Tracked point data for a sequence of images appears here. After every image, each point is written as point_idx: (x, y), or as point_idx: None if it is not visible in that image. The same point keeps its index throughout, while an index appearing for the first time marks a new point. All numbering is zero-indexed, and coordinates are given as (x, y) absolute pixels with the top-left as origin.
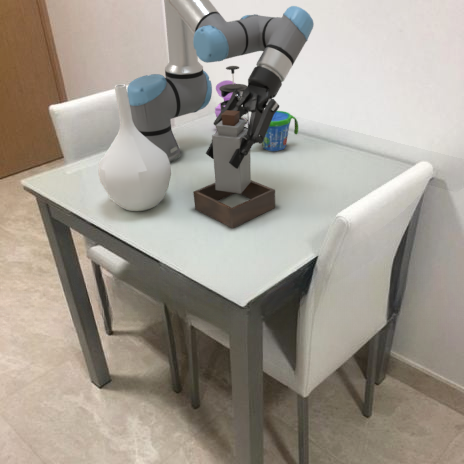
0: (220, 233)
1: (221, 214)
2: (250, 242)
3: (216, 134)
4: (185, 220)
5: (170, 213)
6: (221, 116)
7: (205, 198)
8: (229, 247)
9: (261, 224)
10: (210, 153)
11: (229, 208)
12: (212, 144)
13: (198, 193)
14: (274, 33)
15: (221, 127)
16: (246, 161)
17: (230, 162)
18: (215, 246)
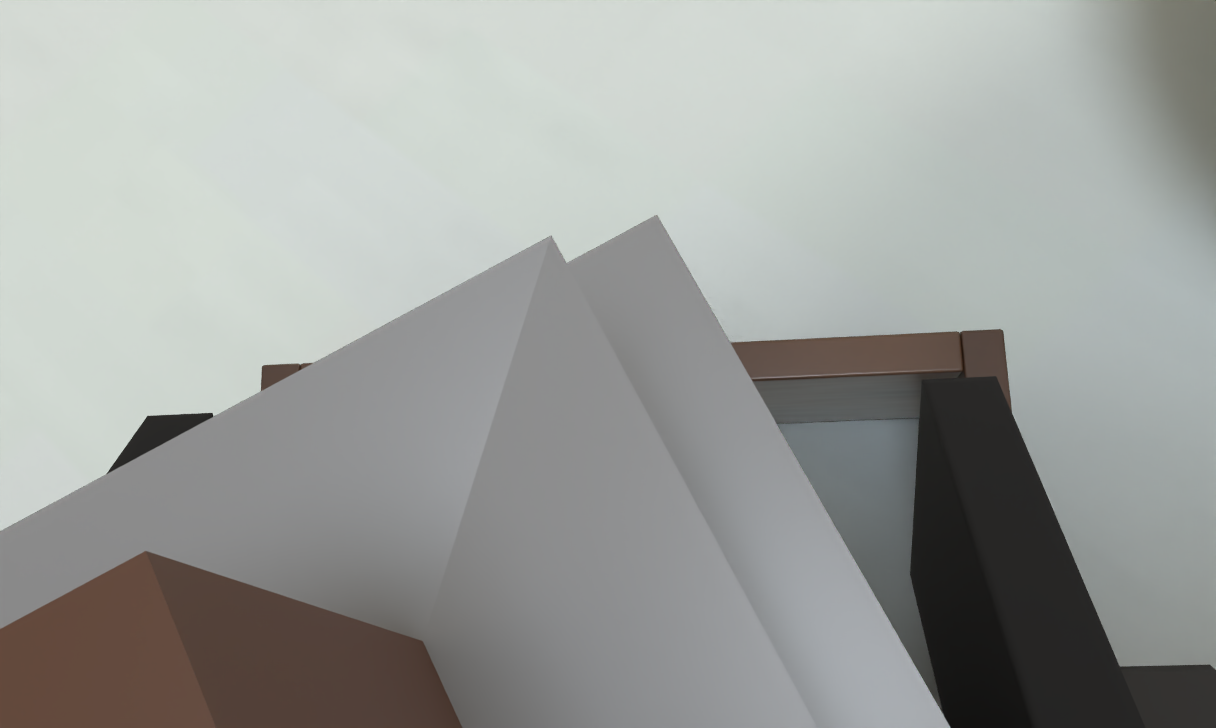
0: (363, 270)
1: None
2: (48, 365)
3: (664, 417)
4: (814, 176)
5: (1057, 147)
6: (237, 589)
7: (747, 344)
8: (131, 183)
9: None
10: (925, 466)
11: (302, 365)
12: (990, 545)
13: (903, 342)
14: None
15: (282, 420)
16: None
17: (168, 426)
18: (233, 108)
